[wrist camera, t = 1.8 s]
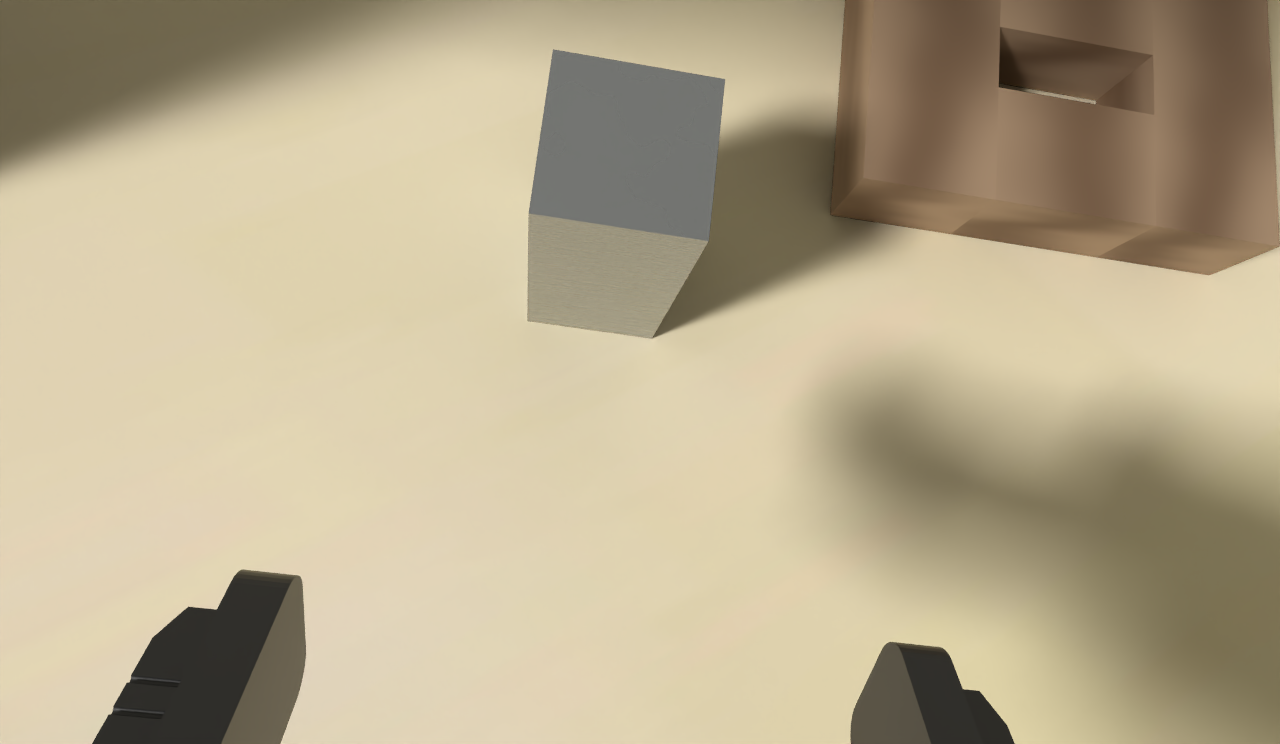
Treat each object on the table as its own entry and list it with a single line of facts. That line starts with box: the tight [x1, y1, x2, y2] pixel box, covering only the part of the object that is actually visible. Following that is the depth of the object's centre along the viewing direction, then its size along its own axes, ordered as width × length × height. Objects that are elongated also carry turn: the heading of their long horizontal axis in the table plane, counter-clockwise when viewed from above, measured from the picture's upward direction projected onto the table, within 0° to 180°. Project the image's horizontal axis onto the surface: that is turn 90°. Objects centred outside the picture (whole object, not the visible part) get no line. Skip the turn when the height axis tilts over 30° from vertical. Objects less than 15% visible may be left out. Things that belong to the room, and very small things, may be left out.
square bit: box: [527, 50, 725, 338], centre depth 24 cm, size 4×4×9 cm
